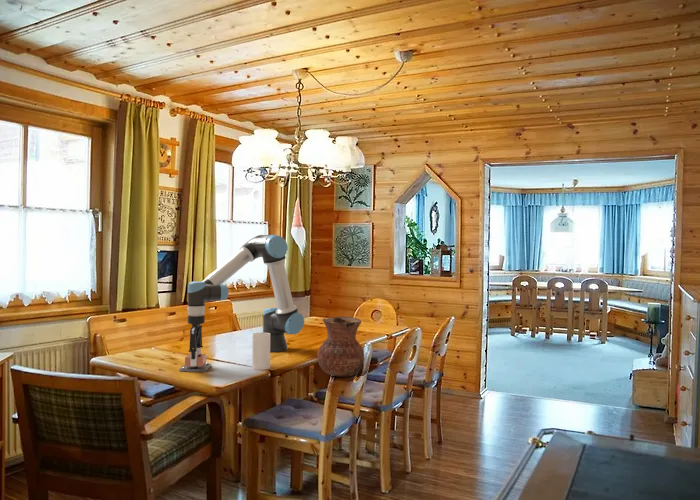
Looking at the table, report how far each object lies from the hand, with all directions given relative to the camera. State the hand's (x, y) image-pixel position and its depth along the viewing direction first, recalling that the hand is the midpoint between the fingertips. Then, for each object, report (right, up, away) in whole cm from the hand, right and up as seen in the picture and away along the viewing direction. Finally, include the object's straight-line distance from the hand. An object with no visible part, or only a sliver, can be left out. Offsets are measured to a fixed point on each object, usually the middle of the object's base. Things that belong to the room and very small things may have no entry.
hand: (195, 363), depth 253 cm
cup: (+30, -3, +4) cm, 30 cm away
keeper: (0, -2, 0) cm, 2 cm away
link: (0, 0, 0) cm, 0 cm away
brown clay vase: (+67, -4, -5) cm, 68 cm away
